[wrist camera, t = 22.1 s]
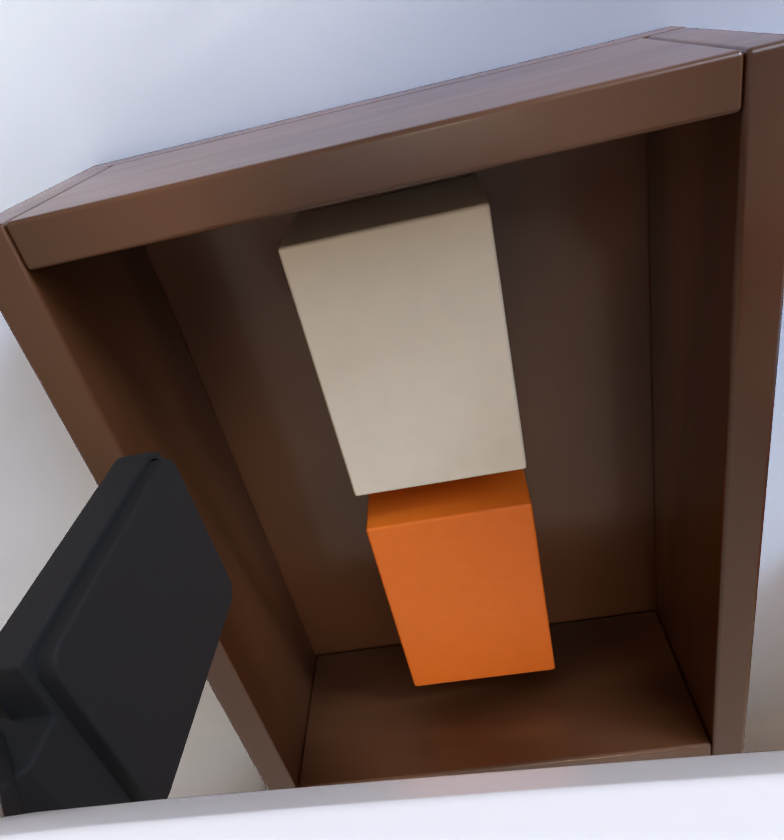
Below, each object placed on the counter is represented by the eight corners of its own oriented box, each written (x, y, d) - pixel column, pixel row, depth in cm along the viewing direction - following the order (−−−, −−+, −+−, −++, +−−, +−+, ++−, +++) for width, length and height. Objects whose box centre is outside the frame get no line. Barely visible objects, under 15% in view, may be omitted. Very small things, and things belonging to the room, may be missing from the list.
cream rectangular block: (477, 173, 14) (489, 202, 12) (512, 412, 17) (527, 469, 15) (295, 213, 15) (276, 248, 12) (361, 438, 18) (354, 497, 16)
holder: (673, 25, 13) (810, 34, 9) (674, 603, 22) (744, 760, 17) (92, 166, 15) (-45, 234, 10) (302, 653, 23) (277, 807, 19)
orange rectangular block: (516, 444, 18) (532, 503, 16) (540, 602, 21) (555, 670, 19) (369, 469, 18) (364, 530, 16) (414, 619, 21) (414, 687, 19)
